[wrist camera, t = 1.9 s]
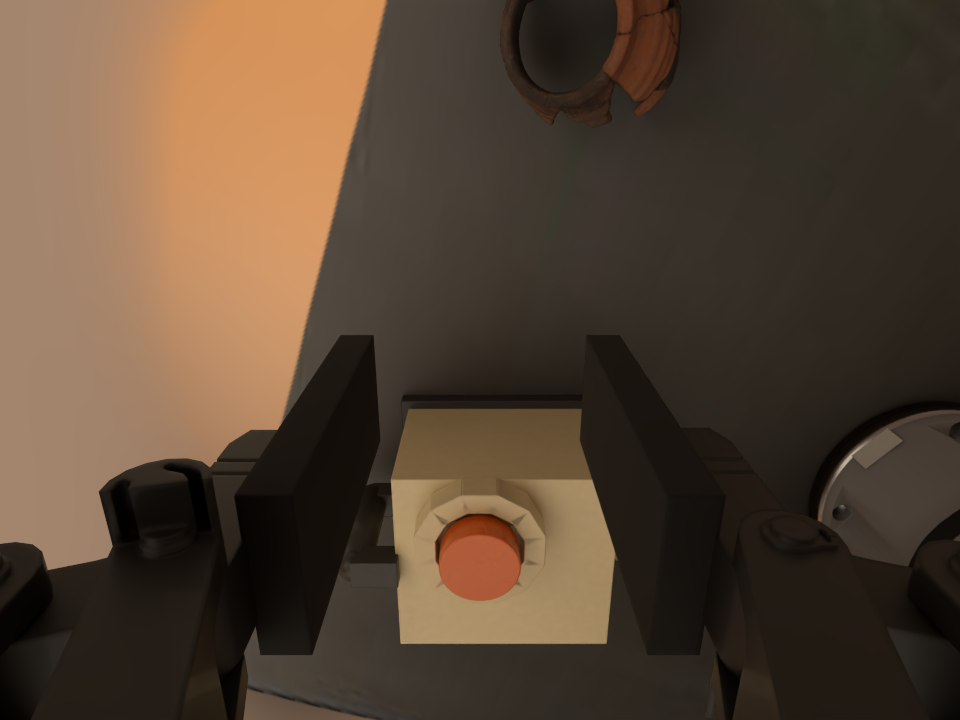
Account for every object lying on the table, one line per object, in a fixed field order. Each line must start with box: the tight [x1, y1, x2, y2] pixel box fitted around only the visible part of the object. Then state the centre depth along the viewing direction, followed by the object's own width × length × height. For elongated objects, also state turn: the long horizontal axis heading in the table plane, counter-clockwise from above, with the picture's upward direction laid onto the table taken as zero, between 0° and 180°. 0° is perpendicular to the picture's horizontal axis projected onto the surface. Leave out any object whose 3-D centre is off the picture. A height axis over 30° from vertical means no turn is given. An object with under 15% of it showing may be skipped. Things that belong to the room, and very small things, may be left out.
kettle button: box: [439, 515, 521, 601], centre depth 34 cm, size 4×4×2 cm
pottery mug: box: [500, 0, 681, 127], centre depth 33 cm, size 12×9×8 cm
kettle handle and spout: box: [339, 396, 618, 588], centre depth 41 cm, size 20×13×11 cm, turn 90°
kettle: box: [391, 409, 615, 644], centre depth 40 cm, size 13×12×12 cm
